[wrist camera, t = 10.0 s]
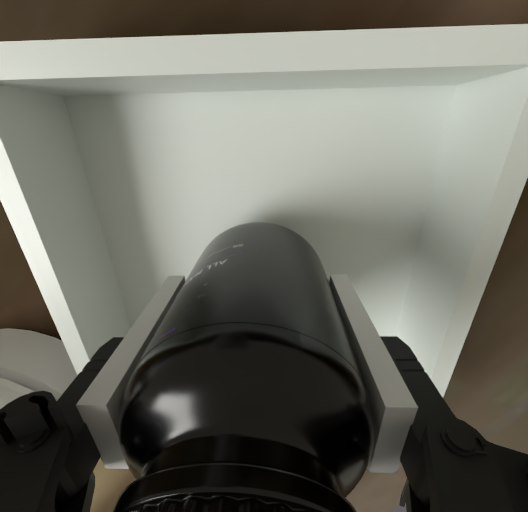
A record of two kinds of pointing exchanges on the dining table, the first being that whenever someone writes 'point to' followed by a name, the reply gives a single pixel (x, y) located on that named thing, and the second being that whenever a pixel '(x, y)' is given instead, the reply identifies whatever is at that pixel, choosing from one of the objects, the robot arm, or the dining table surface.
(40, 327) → the dining table surface
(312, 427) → the supplement bottle
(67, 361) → the honey pot
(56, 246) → the tote
